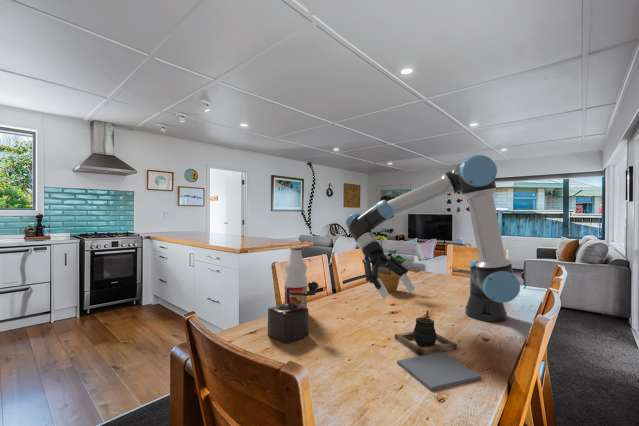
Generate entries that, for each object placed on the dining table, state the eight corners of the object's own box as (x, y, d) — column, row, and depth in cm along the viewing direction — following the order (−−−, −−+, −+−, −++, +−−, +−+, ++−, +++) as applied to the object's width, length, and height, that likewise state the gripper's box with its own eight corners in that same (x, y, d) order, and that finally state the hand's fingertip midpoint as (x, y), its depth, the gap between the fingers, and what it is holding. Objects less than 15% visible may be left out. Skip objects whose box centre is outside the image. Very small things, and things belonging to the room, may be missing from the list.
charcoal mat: (442, 354, 92) (442, 352, 92) (481, 378, 78) (481, 375, 78) (396, 363, 86) (396, 360, 86) (430, 390, 73) (430, 387, 73)
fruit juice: (311, 313, 128) (311, 247, 127) (293, 319, 121) (294, 248, 121) (297, 308, 134) (297, 245, 134) (280, 313, 128) (280, 246, 128)
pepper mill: (287, 345, 98) (287, 289, 97) (266, 335, 105) (267, 283, 105) (320, 331, 109) (321, 281, 109) (299, 323, 116) (300, 276, 116)
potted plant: (373, 294, 158) (373, 236, 157) (372, 286, 176) (373, 234, 176) (408, 296, 155) (409, 237, 154) (404, 287, 173) (405, 234, 173)
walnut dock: (428, 333, 108) (428, 329, 108) (456, 349, 95) (456, 344, 95) (394, 338, 103) (394, 334, 103) (419, 356, 91) (419, 351, 91)
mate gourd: (412, 346, 97) (412, 315, 97) (413, 338, 104) (413, 308, 104) (436, 350, 94) (436, 318, 94) (436, 341, 101) (436, 311, 101)
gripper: (387, 250, 129) (416, 293, 117) (341, 254, 115) (368, 304, 103) (396, 239, 125) (428, 282, 112) (350, 242, 110) (380, 292, 98)
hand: (399, 293), depth 107 cm, fingers open, 13 cm apart
